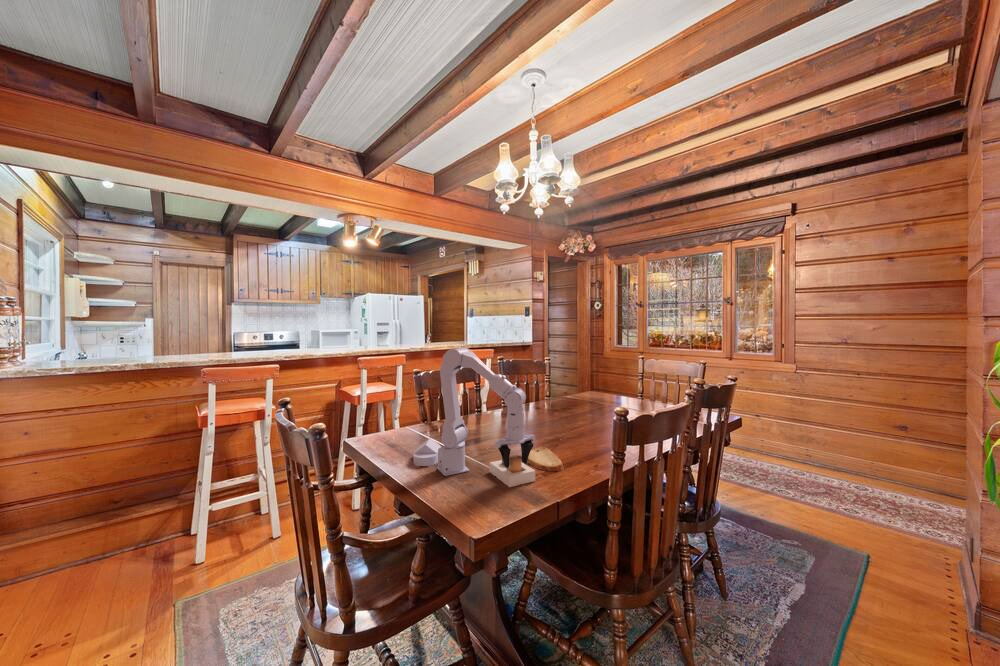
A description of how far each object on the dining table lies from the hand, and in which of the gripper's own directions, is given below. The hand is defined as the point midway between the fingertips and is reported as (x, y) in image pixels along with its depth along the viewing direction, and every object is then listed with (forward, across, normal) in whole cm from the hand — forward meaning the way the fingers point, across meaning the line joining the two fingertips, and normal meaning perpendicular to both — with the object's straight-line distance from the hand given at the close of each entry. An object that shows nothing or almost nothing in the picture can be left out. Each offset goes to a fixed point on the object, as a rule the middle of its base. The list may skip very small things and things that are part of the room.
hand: (515, 464), depth 131 cm
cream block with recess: (+5, 0, +2) cm, 6 cm away
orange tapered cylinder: (+4, 0, 0) cm, 4 cm away
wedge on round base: (+5, -21, +32) cm, 38 cm away
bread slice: (+6, +18, +9) cm, 21 cm away
